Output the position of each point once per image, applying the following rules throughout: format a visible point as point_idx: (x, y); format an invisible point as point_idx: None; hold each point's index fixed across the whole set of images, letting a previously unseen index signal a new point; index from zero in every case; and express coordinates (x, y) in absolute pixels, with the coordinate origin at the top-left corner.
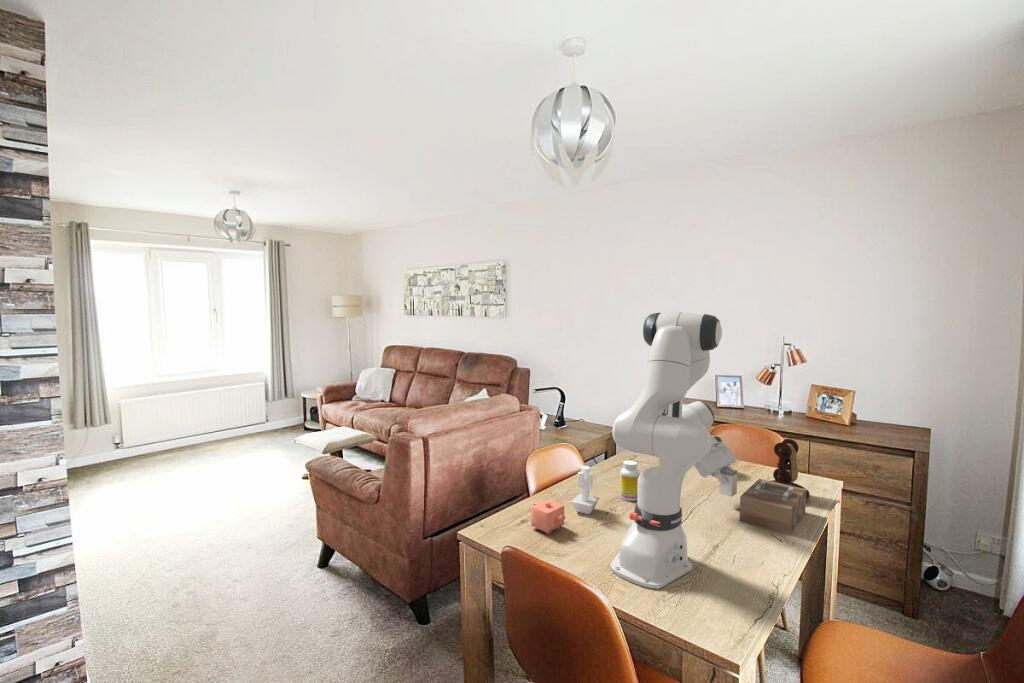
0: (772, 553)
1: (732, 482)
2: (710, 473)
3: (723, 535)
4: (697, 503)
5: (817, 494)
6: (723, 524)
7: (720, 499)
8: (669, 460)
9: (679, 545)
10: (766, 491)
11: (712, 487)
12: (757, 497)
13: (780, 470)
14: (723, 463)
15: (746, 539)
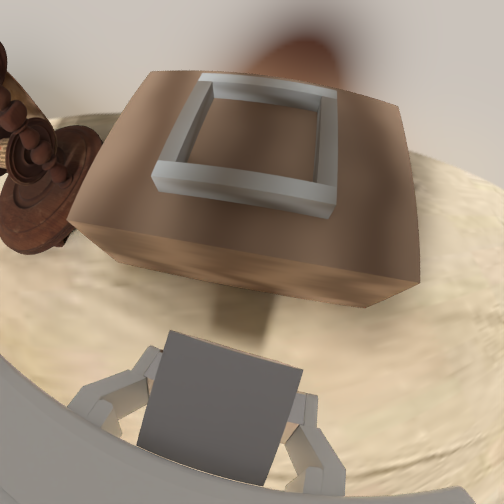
0: (473, 206)
1: (275, 361)
2: (458, 486)
3: (475, 326)
4: (276, 483)
5: None
6: (419, 350)
7: None
8: None
9: None
10: (337, 149)
11: None
12: (378, 202)
13: (29, 130)
14: (160, 487)
15: (461, 266)
